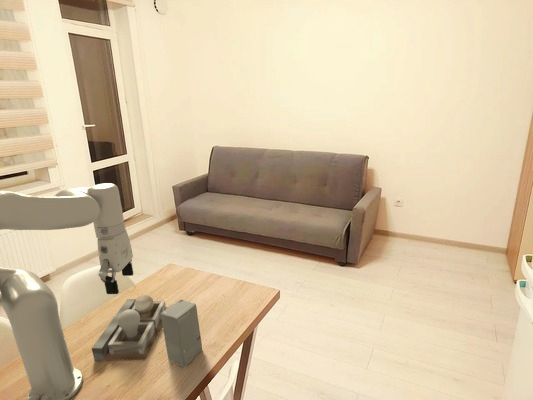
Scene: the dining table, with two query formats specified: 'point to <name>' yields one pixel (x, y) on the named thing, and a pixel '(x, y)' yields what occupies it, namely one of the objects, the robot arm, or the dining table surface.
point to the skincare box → (181, 332)
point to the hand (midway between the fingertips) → (120, 284)
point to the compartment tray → (116, 341)
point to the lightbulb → (129, 323)
